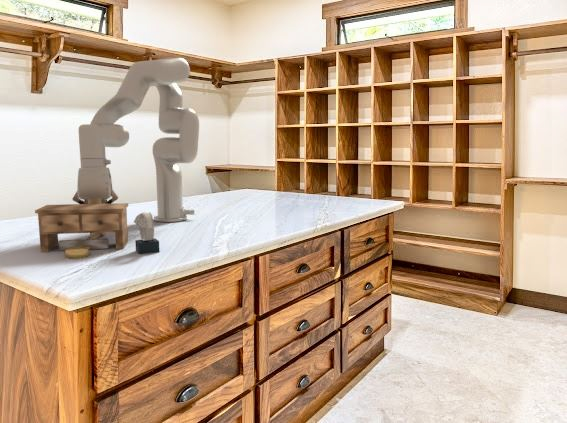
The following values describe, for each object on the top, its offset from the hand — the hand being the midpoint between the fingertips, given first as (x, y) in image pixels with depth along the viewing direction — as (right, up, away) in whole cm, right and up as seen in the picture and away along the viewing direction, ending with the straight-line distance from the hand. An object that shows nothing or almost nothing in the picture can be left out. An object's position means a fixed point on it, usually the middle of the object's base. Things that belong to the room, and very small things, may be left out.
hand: (96, 219), depth 154 cm
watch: (+22, -9, -20) cm, 31 cm away
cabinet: (+3, -8, -15) cm, 17 cm away
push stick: (+2, -6, -8) cm, 11 cm away
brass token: (+5, -10, -26) cm, 28 cm away
